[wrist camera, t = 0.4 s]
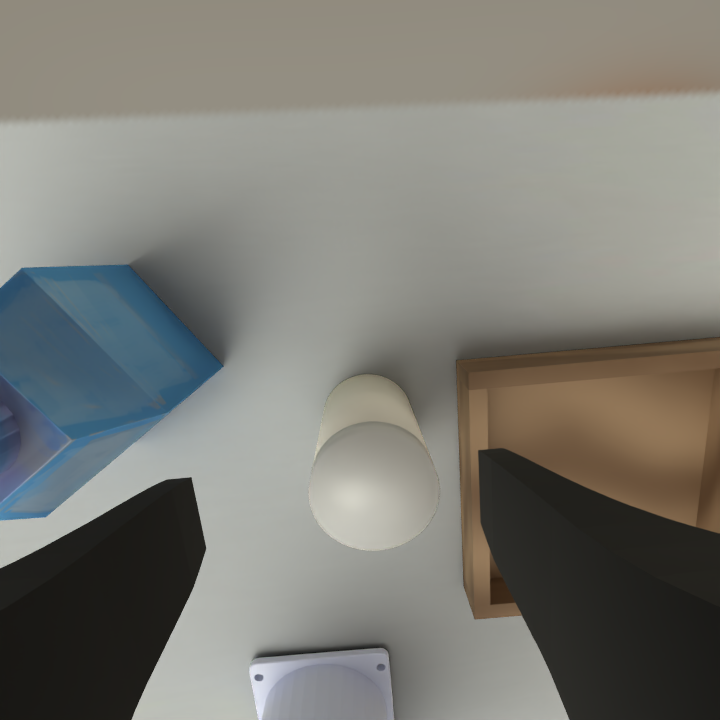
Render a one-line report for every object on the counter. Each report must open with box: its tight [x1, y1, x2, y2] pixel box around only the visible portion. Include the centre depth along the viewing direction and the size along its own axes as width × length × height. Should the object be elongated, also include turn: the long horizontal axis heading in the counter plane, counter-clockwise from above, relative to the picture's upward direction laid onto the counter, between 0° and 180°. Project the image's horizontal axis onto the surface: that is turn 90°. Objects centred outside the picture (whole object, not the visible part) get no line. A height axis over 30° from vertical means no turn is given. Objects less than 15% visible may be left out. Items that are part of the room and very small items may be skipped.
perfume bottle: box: [0, 265, 224, 520], centre depth 14 cm, size 6×6×12 cm
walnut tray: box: [456, 337, 720, 619], centre depth 20 cm, size 13×13×2 cm
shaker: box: [308, 374, 440, 551], centre depth 17 cm, size 4×4×7 cm
